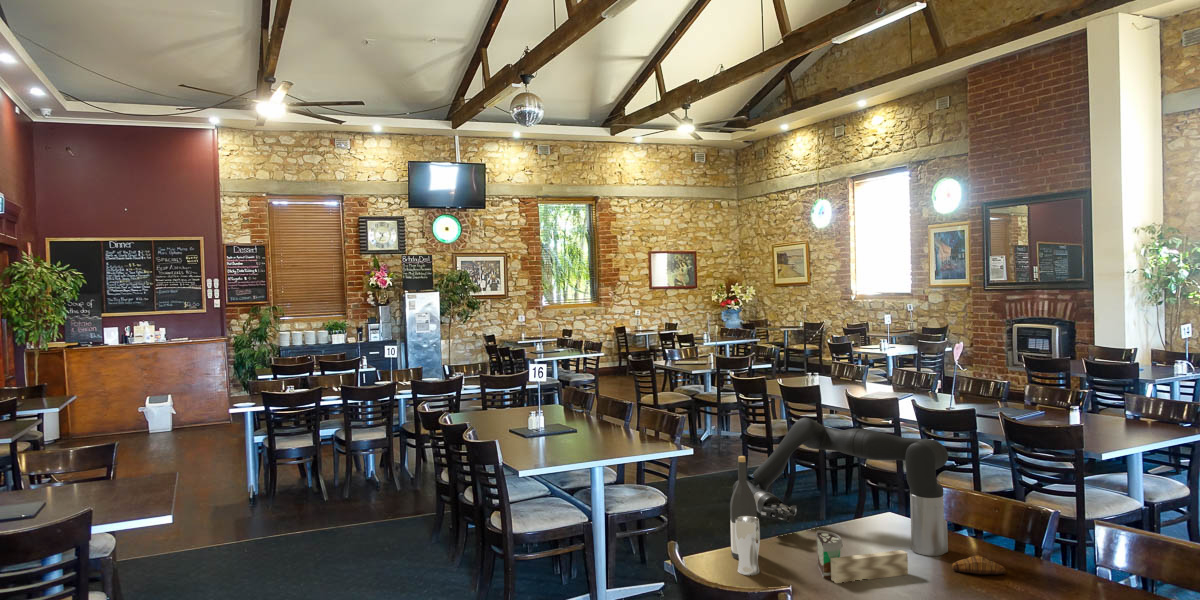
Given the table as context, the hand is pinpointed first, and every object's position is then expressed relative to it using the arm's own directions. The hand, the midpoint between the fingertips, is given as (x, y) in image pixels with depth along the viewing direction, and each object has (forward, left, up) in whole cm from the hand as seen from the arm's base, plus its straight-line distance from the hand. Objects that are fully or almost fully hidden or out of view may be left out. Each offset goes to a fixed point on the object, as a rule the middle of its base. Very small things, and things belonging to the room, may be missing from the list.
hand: (791, 518), depth 230 cm
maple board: (-8, +30, -8) cm, 32 cm away
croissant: (-38, +36, -8) cm, 53 cm away
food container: (0, +24, -8) cm, 25 cm away
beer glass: (+22, +17, -8) cm, 29 cm away
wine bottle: (+18, +5, -8) cm, 21 cm away
